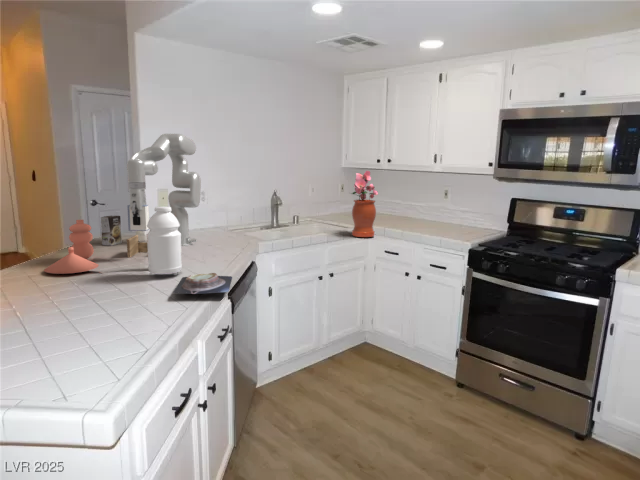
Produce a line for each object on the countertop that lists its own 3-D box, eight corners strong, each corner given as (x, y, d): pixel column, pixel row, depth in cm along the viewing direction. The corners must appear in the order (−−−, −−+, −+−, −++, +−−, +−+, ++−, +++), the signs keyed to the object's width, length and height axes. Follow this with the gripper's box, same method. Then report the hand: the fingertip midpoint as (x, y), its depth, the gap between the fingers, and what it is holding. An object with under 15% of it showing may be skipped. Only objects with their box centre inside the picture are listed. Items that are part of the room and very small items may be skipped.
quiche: (228, 292, 157) (228, 282, 156) (172, 294, 155) (171, 284, 154) (232, 276, 177) (232, 267, 177) (182, 277, 175) (181, 268, 174)
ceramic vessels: (93, 272, 181) (90, 228, 178) (36, 274, 175) (32, 229, 172) (108, 255, 214) (106, 218, 211) (60, 257, 208) (57, 219, 205)
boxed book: (149, 229, 207) (148, 204, 205) (146, 230, 202) (145, 205, 200) (132, 229, 206) (130, 204, 204) (128, 230, 201) (127, 205, 200)
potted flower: (352, 238, 282) (355, 170, 274) (344, 232, 307) (347, 169, 299) (380, 238, 285) (383, 170, 277) (370, 232, 310) (373, 170, 302)
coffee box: (111, 245, 239) (110, 217, 236) (101, 245, 240) (99, 216, 237) (122, 243, 247) (120, 215, 245) (112, 242, 249) (111, 215, 246)
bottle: (188, 268, 191) (186, 206, 186) (168, 275, 178) (165, 209, 173) (162, 265, 195) (160, 204, 190) (141, 272, 182) (137, 207, 177)
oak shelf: (165, 251, 226) (164, 235, 224) (157, 257, 211) (157, 239, 210) (136, 251, 224) (135, 235, 222) (127, 257, 210) (126, 239, 208)
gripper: (139, 187, 193) (141, 226, 196) (150, 185, 210) (151, 222, 213) (122, 186, 192) (124, 226, 195) (134, 185, 209) (136, 222, 212)
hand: (138, 223), depth 204 cm, fingers closed on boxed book, 5 cm apart
